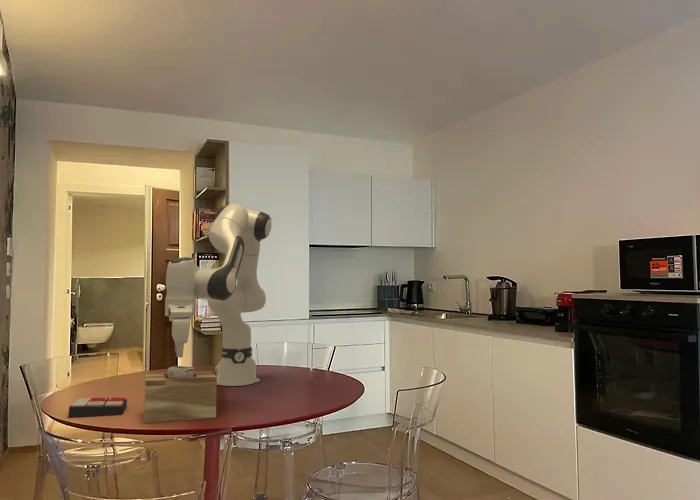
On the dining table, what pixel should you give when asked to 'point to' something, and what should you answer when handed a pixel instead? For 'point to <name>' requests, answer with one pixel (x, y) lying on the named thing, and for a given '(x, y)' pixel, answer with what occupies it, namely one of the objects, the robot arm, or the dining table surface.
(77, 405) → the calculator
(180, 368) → the syrup box
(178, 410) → the posting box
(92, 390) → the dining table surface
